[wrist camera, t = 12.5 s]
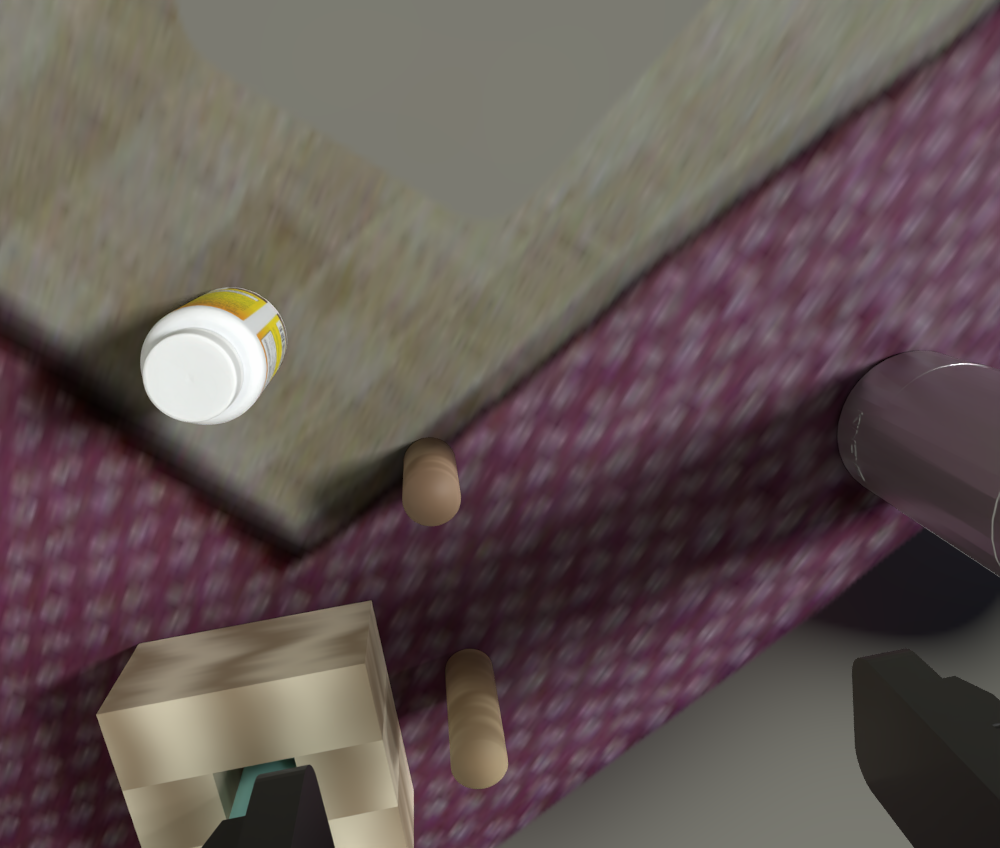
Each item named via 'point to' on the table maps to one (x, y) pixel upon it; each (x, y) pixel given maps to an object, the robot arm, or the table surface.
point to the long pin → (248, 782)
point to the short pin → (430, 482)
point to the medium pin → (474, 720)
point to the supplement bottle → (213, 356)
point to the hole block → (261, 726)
